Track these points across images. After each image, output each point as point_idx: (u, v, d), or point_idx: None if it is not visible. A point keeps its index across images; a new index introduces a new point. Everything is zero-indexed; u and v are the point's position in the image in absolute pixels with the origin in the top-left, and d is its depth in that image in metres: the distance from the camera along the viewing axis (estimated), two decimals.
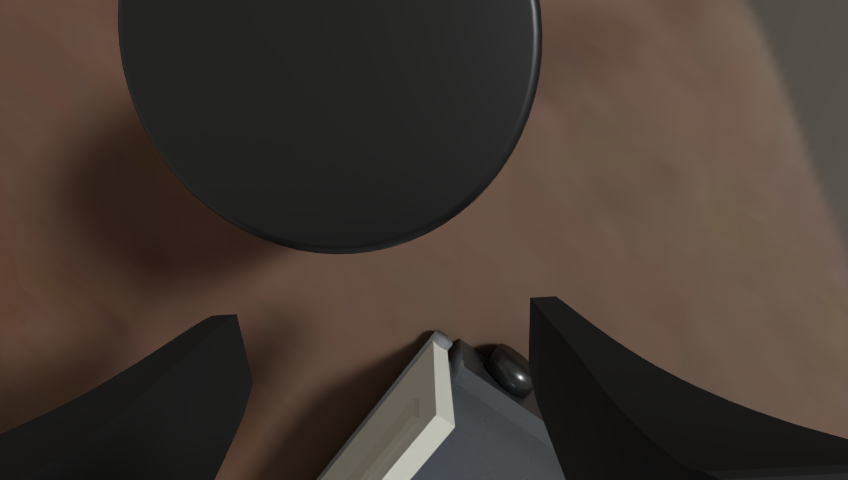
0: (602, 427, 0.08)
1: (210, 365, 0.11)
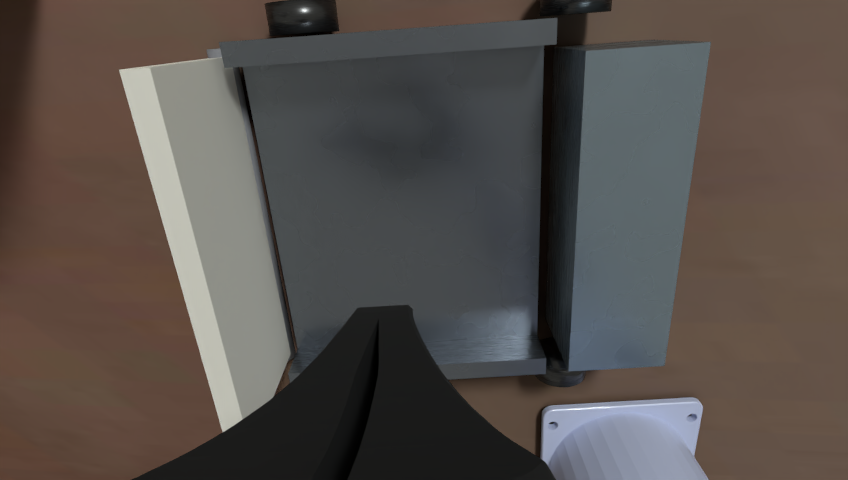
0: None
1: (376, 356, 0.10)
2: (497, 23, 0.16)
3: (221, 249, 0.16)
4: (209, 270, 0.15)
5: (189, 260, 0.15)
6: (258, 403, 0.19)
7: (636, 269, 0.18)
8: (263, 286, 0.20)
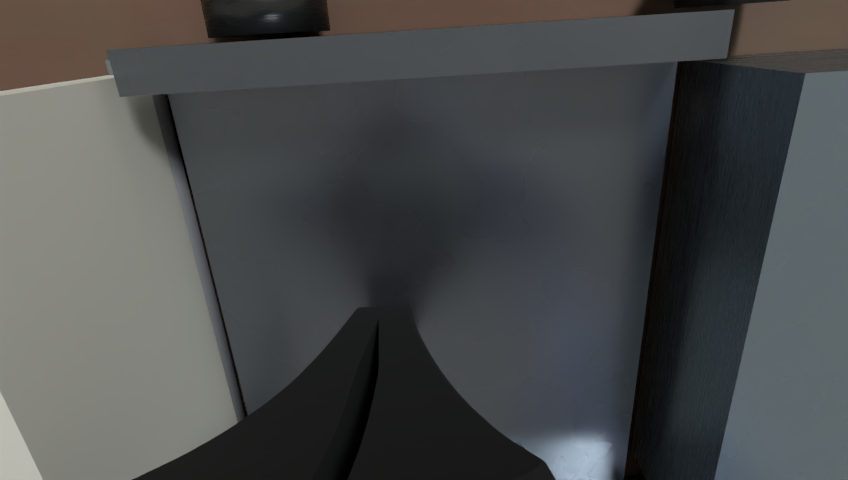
0: None
1: (376, 356, 0.10)
2: (622, 19, 0.09)
3: (110, 430, 0.09)
4: None
5: None
6: None
7: (827, 434, 0.11)
8: (209, 435, 0.13)
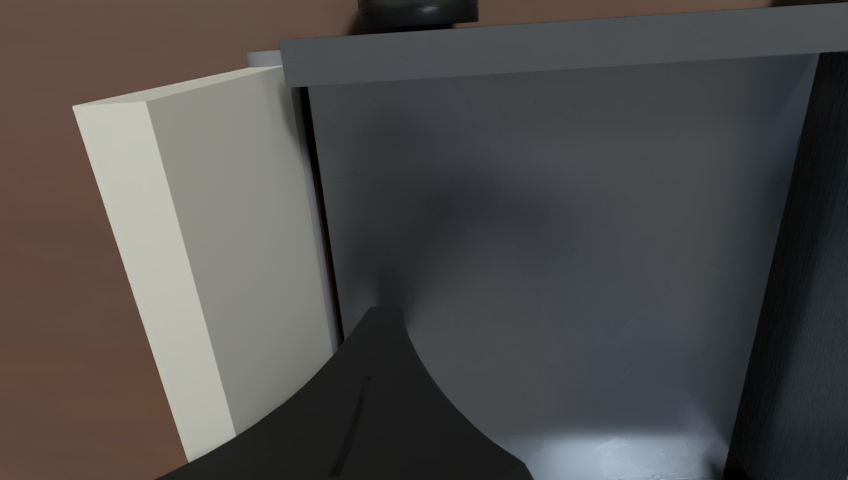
0: None
1: None
2: (797, 8, 0.09)
3: None
4: None
5: None
6: None
7: None
8: None
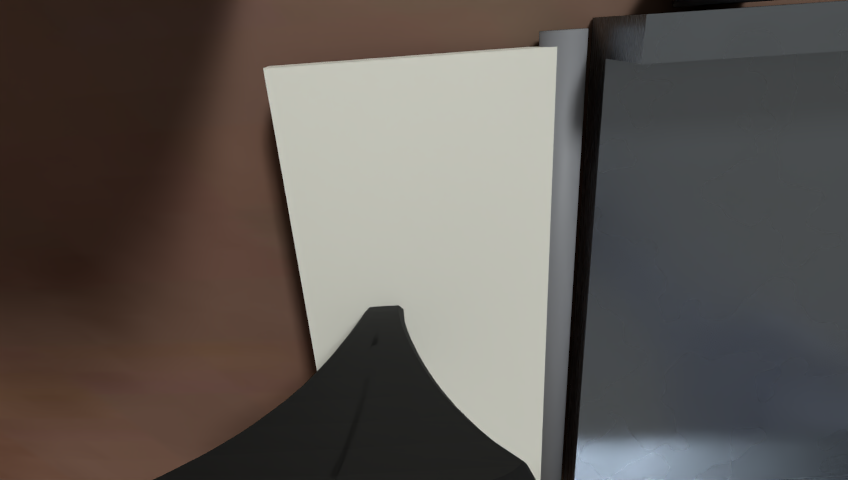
0: None
1: None
2: None
3: None
4: (325, 331, 0.12)
5: None
6: None
7: None
8: (489, 394, 0.13)
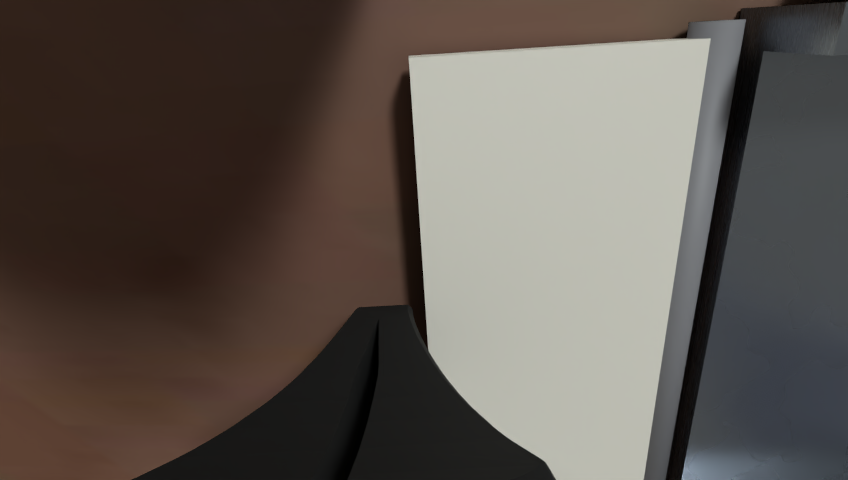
0: None
1: (376, 356, 0.10)
2: None
3: (488, 309, 0.12)
4: (441, 320, 0.12)
5: None
6: None
7: None
8: (598, 397, 0.13)
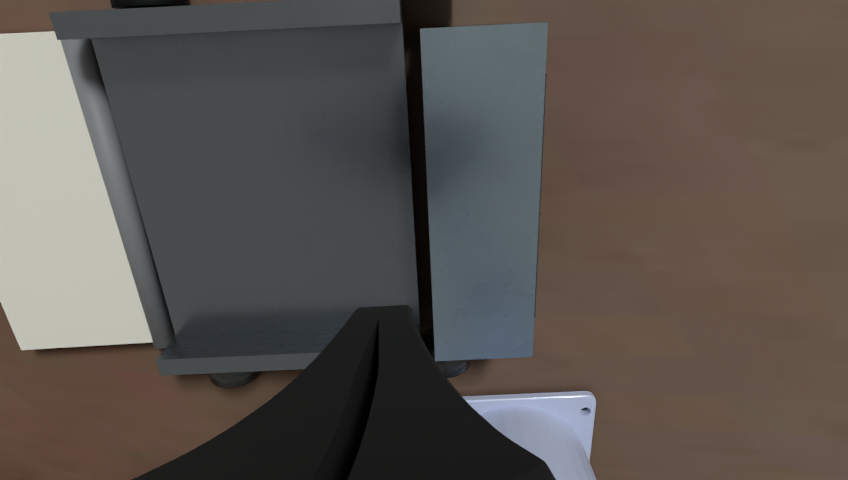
0: None
1: (376, 356, 0.10)
2: None
3: None
4: None
5: None
6: (46, 330, 0.22)
7: (493, 256, 0.18)
8: (89, 257, 0.21)
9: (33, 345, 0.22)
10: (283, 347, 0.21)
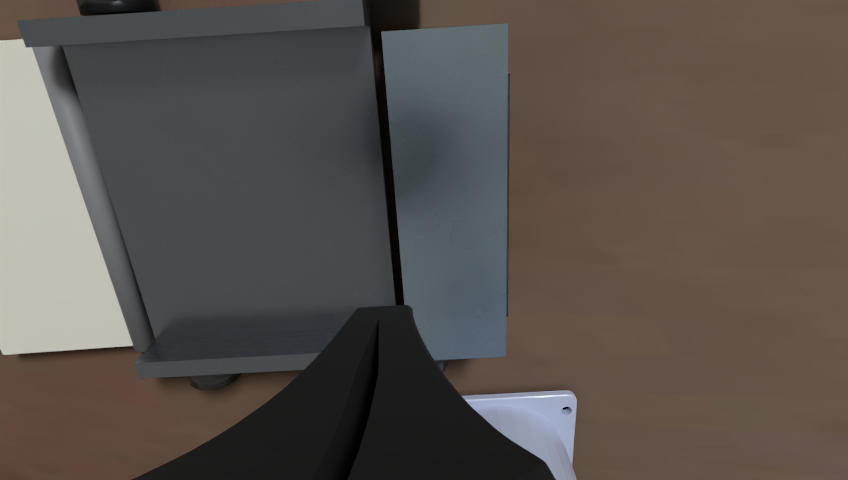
0: None
1: (376, 356, 0.10)
2: (300, 3, 0.16)
3: None
4: None
5: None
6: (27, 335, 0.22)
7: (463, 257, 0.18)
8: (67, 262, 0.21)
9: (15, 350, 0.23)
10: (261, 350, 0.21)
